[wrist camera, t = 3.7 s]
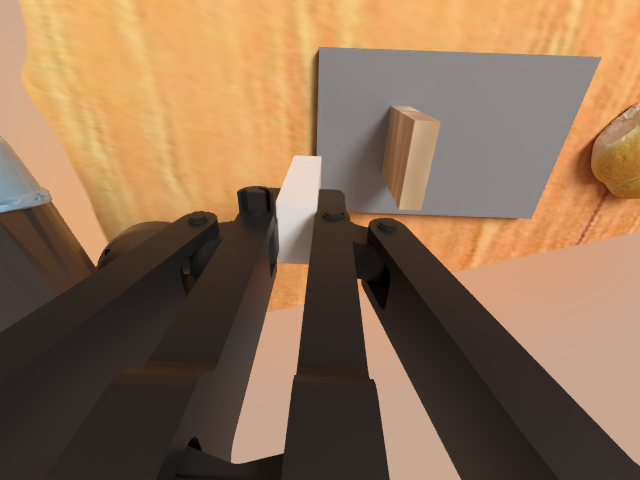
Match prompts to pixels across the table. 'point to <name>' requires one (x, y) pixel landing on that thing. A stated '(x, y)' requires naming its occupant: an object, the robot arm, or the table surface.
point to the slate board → (449, 125)
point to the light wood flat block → (409, 155)
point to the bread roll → (619, 155)
